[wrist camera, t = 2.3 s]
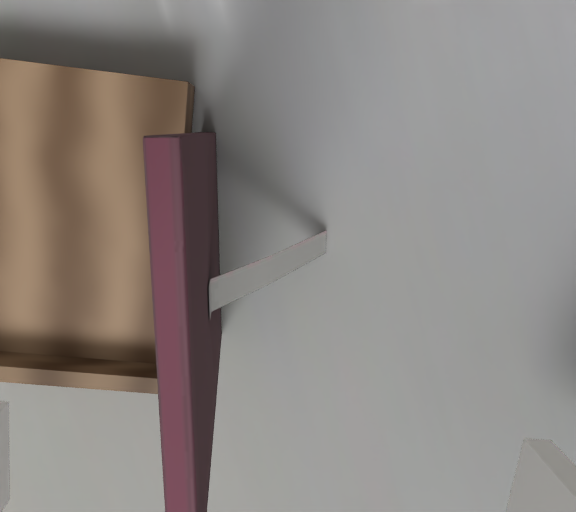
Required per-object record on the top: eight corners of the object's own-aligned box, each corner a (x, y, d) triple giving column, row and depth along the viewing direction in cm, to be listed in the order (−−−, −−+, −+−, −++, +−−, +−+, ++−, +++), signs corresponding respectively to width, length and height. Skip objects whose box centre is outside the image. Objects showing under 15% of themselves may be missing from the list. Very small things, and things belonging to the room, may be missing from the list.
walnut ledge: (194, 86, 39) (182, 78, 33) (175, 357, 44) (161, 394, 38) (-13, 60, 38) (-66, 47, 32) (-9, 341, 43) (-54, 377, 37)
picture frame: (200, 132, 40) (111, 135, 16) (327, 132, 41) (431, 136, 16) (207, 335, 44) (145, 589, 20) (323, 333, 44) (402, 578, 20)
